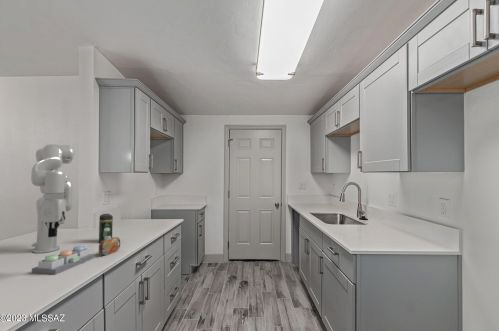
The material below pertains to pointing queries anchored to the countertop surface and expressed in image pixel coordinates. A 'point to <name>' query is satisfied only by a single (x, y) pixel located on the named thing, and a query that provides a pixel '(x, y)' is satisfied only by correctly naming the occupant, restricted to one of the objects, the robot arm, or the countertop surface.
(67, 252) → the terracotta button
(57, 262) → the button panel
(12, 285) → the countertop surface
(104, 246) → the tin
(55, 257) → the green button
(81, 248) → the slate button
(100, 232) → the coffee jar
